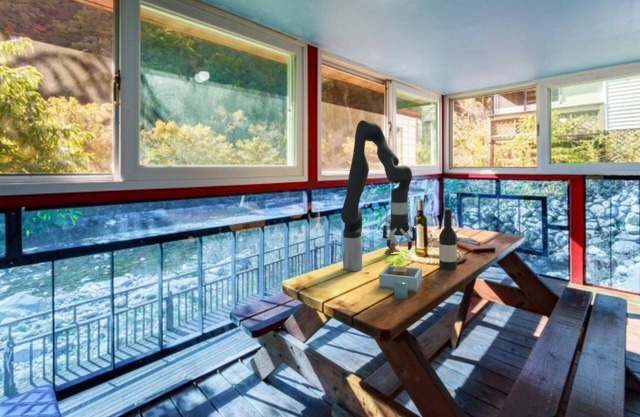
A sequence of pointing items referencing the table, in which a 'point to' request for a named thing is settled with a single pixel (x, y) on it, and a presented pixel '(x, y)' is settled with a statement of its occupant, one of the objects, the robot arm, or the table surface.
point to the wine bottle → (448, 244)
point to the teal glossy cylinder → (401, 289)
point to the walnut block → (400, 271)
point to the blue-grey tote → (400, 278)
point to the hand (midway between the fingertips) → (399, 248)
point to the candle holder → (393, 241)
